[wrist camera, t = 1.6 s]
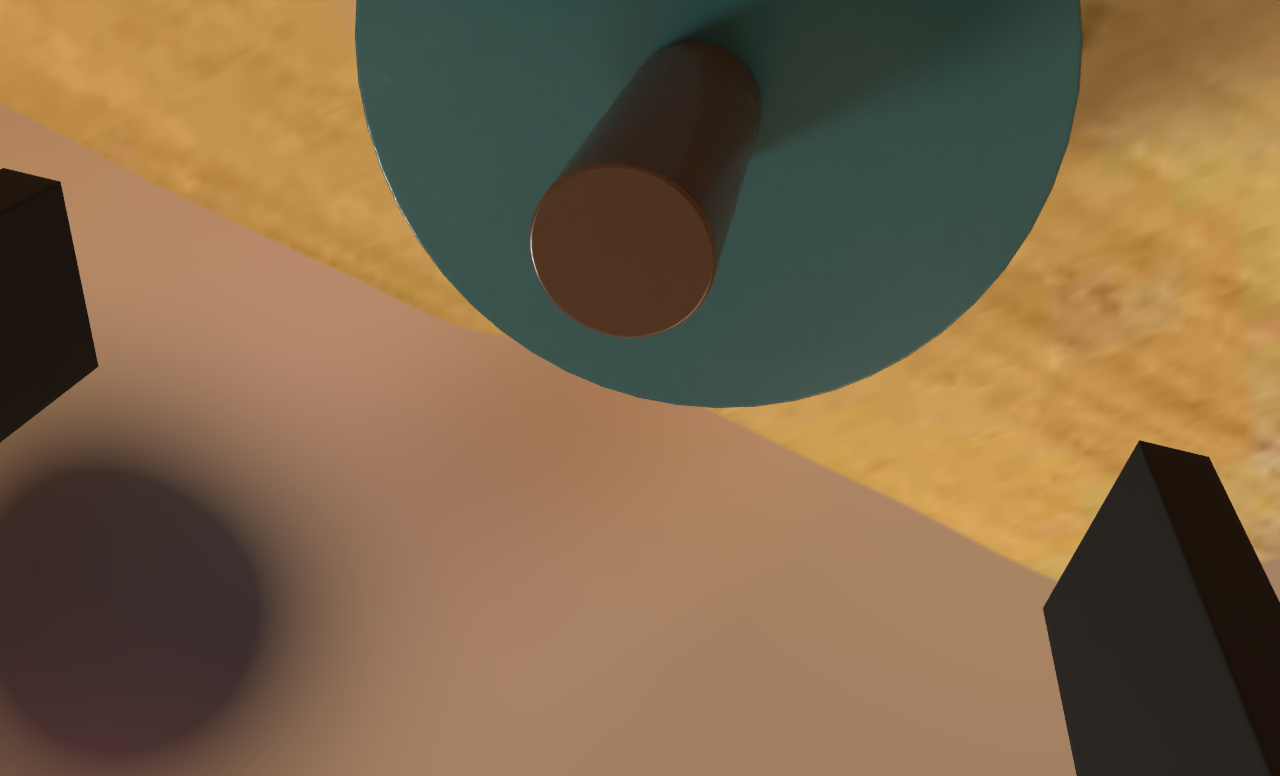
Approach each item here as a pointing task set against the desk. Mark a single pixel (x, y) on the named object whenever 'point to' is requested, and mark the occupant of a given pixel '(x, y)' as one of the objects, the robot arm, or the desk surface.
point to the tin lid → (720, 174)
